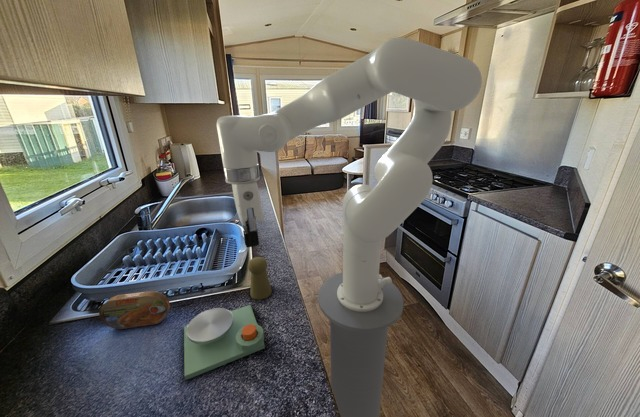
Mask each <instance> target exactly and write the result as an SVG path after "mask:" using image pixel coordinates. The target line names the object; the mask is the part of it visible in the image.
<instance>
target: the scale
mask: <svg viewBox="0 0 640 417" xmlns="http://www.w3.org/2000/svg"><path fill="white" fill-rule="evenodd" d="M253 310H254V309H253V308H252V305H251V304H248V305H245V306H242V307H239V308H235V309H233V310H229V311H230V312H231V313H232V315H233V320H234V321H233V326H232V328H231V329H230V331H229V332H228V333H227V334H226V335H225V336H224V337H222V338H221V339H219V340H217V341H215V342H212V343H209V344H195V343H193V342H191V341H190V340H189V338H188V336H187V327H188V325H189V324H187V325H184V326H183V356H184V357H183V359H184V360H183V362H184V364H183V367H184V370H183V371H184V372H183V373H184V375H183V376H184V379H185V381H188V380H190V379H193V378H195V377H197V376H200V375H202V374H204V373H207V372H210V371H212V370H214V369H217V368H219V367H222V366H224V365H228V364H229V363H232V362H234V361H237V360H239V359H242V358H244V357H247V356H249V355H251V354H254V353H256V352H259V351H261V350H263V349H265V348H266V346H265V342H264V340H265V332H264V329H263V327H262V326H261V325H259V324H258V322H257V319H256V316H255V313H254V311H253ZM249 324H252V325H254V326H255V327H256V332H257V335H256V337H255V338H254V339H253V340H251V341H245V340H244V339H243V335H242V329H243V328H244V327H245V326H246V325H249Z"/></svg>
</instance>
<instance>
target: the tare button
mask: <svg viewBox="0 0 640 417" xmlns="http://www.w3.org/2000/svg"><path fill="white" fill-rule="evenodd" d="M242 335H243V339H244V340H245V341H251V340H253V339H254V338H255V337H256V335H257V332H256V327H255V326H254V325H252V324H249V325H246V326H245V327H244V328H243V329H242Z"/></svg>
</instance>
